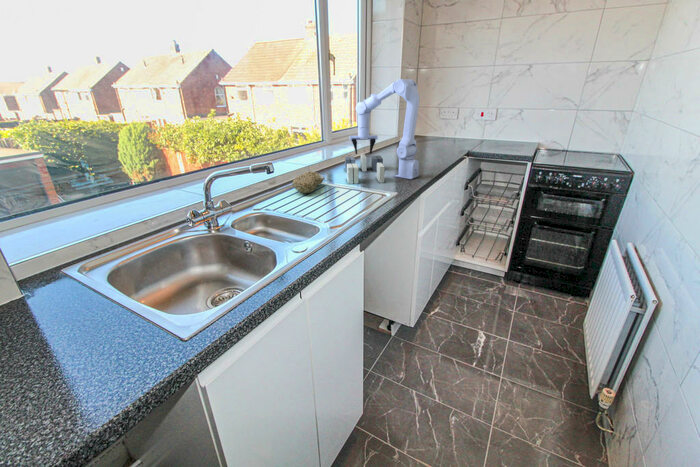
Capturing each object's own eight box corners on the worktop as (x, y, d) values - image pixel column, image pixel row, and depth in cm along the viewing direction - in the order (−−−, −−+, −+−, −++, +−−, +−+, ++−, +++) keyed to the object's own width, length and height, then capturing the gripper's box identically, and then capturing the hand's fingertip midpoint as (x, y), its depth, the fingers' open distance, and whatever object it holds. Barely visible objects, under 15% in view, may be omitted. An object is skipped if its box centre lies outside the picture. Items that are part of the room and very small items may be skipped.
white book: (364, 167, 183) (364, 154, 180) (366, 171, 175) (366, 157, 172) (360, 167, 183) (360, 154, 180) (362, 171, 174) (362, 157, 171)
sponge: (305, 185, 156) (280, 187, 138) (309, 169, 153) (283, 169, 136) (329, 193, 151) (306, 196, 133) (333, 176, 149) (310, 178, 131)
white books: (381, 177, 162) (381, 162, 159) (384, 182, 154) (384, 166, 151) (347, 178, 161) (346, 163, 158) (348, 183, 153) (348, 167, 149)
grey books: (379, 167, 183) (380, 155, 181) (382, 170, 175) (382, 158, 172) (345, 168, 182) (344, 156, 179) (346, 172, 174) (346, 159, 171)
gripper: (376, 125, 174) (375, 152, 179) (349, 126, 173) (349, 152, 178) (378, 127, 167) (377, 154, 173) (350, 128, 166) (350, 155, 172)
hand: (363, 153), depth 175 cm, fingers open, 7 cm apart
